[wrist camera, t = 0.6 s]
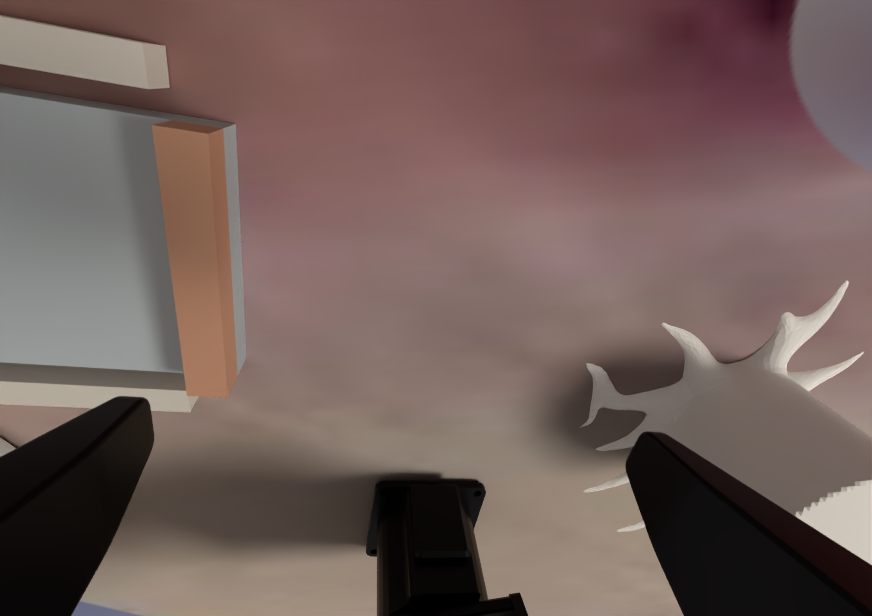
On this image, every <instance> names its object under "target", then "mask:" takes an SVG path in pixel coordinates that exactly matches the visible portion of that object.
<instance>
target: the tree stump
mask: <svg viewBox="0 0 872 616" xmlns="http://www.w3.org/2000/svg"><path fill="white" fill-rule="evenodd" d="M848 284H849V282H848V280H847V281H846V282H845V283H844V284H843V285H842V286H841V287H840V288H839V289H838V291H837V292H836V293H835V295H834V296H832V298H831V299H830V300H829V301H828V302H827V303H826V304H825V305H824V306H822V307H821V308H820V309H818V310H817V311H815V312H814V313H812V314H810V315H807V316H804V317H796V316H794V315H793V314H791V313H790V312H787V313H784V314H783V315H782V316H781V318H780V322H779V325H778V327H777V329H776V331H775V333H774V335H773V336H772V337H771V338H770V340H769V341H768V342H767V343H766V344H765V345H764V346H763V347H762V348H761V349H759V350H758V351H757V352H756V353H754V354H753V355H752V356H750V357H749V358H747V359H745V360H742V361H739V362H735V363H730V364H722V363H720V362H718V361H716V360H715V358H714V357H713V356H712V355H711V353H710V352H709V350H708V349H707V348H706V346H705V345H704V344H703V343H702V342H701V341H700V340H699V339H698V338H697V337H696V336H694V335H693V334H692V333H690V332H687V331H685V330H683V329H681V328H677V327H673V326H670V325H668V324H666V323H662V326H663V327H665V329H666V330H668V331H669V333H670V334H671V335H673V337H675V338H676V340H677V341H678V342H679V344H680V345H681V347H682V349H683V352H684V358H685V364H684V373H683V376H682V378H681V380H680V381H678V382H677V383H675V384H673V385H670V386H667V387H664V388H659V389H655V390H651V391H647V392H642V393H637V394H634V395H622V394H620V393H618V392H617V391H616V390H615V388H614V386H613V384H612V383H611V381H610V379H609V377H608V375H607V373H606V372H605V371H604V370H603V369H602V368H601V367H599V366H595V365H594V364H589V363H586V365H587V369H588V370H589V372H590V373H591V374H592V377H593V392H592V399H591V405H590V412H589V418H588V420H587V422H586V423H584V424H583V425H582V426H581V427H583V426H587V425H589V424H591V423H592V422H593V420H594V418H595V417H596V415H597V412H598V410H599V409H600V408H603V407H605V408H609V409H615V410H637V411H643V412H645V413H646V417H645V419H644V420H643V422H642V423H641V424H640V425H639V426H638V427H637V428H636V429H635V430H634V431H632V432H631V433H630V434H628V435H627V436H625V437H623V438H621V439H619V440H617V441H615V442H612V443H609V444H606V445H604V446H601V447H598V448H596V450H599V451H609V450H617V449H623V448H629V447H634V445H635V443H636V441H637V439H638V437H639V435H640V434H642V433H643V432H646V431H650V432H662V433H665V434H667V435H669V436H670V437H672V438H673V439H675V440H676V441H678V442H680V443H681V444H683V445H684V446H686V447H687V448H689V449H691V450H692V451H694V452H695V453H697V454H698V455H700V456H702V457H703V458H705V459H706V460H708V461H709V462H711V463H713V464H714V465H716V466H717V467H719V468H720V469H722V470H723V471H725V472H727V473H728V474H730V475H731V476H733V477H734V478H736V479H738V480H739V481H741V482H742V483H744V484H745V485H747V486H749V487H750V488H752V489H753V490H755V491H756V492H758V493H760V494H761V495H763V496H764V497H766V498H767V499H769V500H770V501H772V502H774V503H775V504H777V505H778V506H780V507H781V508H783V509H785V510H786V511H788V512H789V513H791V514H792V515H794V516H796V517H797V518H799V519H800V520H802V521H803V522H805V523H807V524H808V525H810V526H811V527H813V528H814V529H816V530H818V531H819V532H821V533H822V534H824V535H825V536H827V537H828V538H830V539H832V540H833V541H835V542H836V543H838V544H839V545H841V546H843V547H844V548H846V549H847V550H849V551H850V552H852V553H854V554H855V555H857V556H858V557H860V558H861V559H863V560H865V561H866V562H868V563H869V564H871V565H872V438H871V437H870V436H869V435H867V434H866V433H865V432H863V431H862V430H860V429H859V428H858V427H856V426H855V425H854V424H852V423H851V422H850V421H848V420H847V419H845V418H844V417H843V416H841V415H840V414H839V413H837V412H836V411H835V410H833V409H832V408H830V407H829V406H828V405H826V404H825V403H824V402H822V401H821V400H820V399H818V398H817V397H816V396H814V395H813V394H811V393H810V392H809V391H810V390H811V389H813V388H814V387H816V386H817V385H819V384H820V383H822V382H824V381H826V380H827V379H829V378H831V377H833V376H835V375H836V374H838V373H839V372H841V371H843V370H844V369H846V368H847V367H849V366H850V365H851V364H852V363H854V362H855V361H856V360H857V359H858V358H859V357H860V356H861V355H862V354H863V353H864V352H862V353H861V354H858V355H856V356H854V357H853V358H851V359H849V360H847V361H845V362H842V363H840V364H837V365H834V366H830V367H826V368H822V369H817V370H811V371H804V372H787V363H788V361H789V359H790V357H791V356H792V355H793V354H794V352H795V351H796V350H797V349H798V348H799V347H800V346H801V345H802V344H803V343H805V342H806V341H807V340H808V339H809V338H810V337H811V336H812V335H813V334H815V333H816V332H817V331H818V330H819V329H820V328H821V327H822V325H823V324H824V323H825V322H826V321H827V320H828V319H829V317H830V316H831V314H832V313H833V312H834V310H835V309H836V307H837V305H838V304H839V302H840V300H841V299H842V297H843V295H844V293H845V290H846V288H847V287H848ZM579 428H580V427H579ZM628 482H629V479H628V476H627V473H626V472H624V473H623V474H621V475H620V476H618V477H616V478H614V479H612V480H611V481H608V482H606V483H604V484H602V485H599V486H596V487H592V488H588V489H586V490H585V491H583V492H594V491H600V490H604V489H607V488H611V487H615V486H618V485H622V484H625V483H628ZM643 527H645V524H644V521H643V520H641V521H640V522H638V523H636V524H634V525H631V526H629V527H625V528H621V529H618V530H617V532H625V531H633V530H637V529H640V528H643Z"/></svg>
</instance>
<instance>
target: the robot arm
mask: <svg viewBox="0 0 872 616" xmlns="http://www.w3.org/2000/svg"><path fill="white" fill-rule="evenodd" d="M153 443H154V430H153V423H152V415H151V408H150V403H149V401H148V400H147V399H146V398H144V397H133V396H117V397H115V398H112V399H110V400H108V401H107V402H105V403H103V404H101V405H99V406H97V407H95V408H93V409H91V410H89V411H87V412H85V413H83V414H82V415H80V416H78V417H76V418H74V419H72V420H70V421H68V422H66V423H64V424H62V425H60V426H58V427H57V428H55V429H53V430H51V431H49V432H47V433H45V434H43V435H41V436H39V437H37V438H35V439H33V440H32V441H30V442H28V443H26V444H24V445H22V446H20V447H18V448H16V449H14V450H12V451H10V452H9V453H7V454H5V455H3V456H1V457H0V616H71V615H72V613H73V612H74V610H75V608H76V606H77V604H78V603H79V601H80V599H81V597H82V596H83V594H84V592H85V590H86V588H87V587H88V585H89V583H90V581H91V579H92V578H93V576H94V574H95V572H96V571H97V569H98V567H99V565H100V563H101V562H102V560H103V558H104V556H105V554H106V552H107V550H108V548H109V547H110V545H111V543H112V540H113V538H114V536H115V534H116V532H117V530H118V527H119V525H120V523H121V520H122V518H123V516H124V513H125V511H126V509H127V506H128V504H129V502H130V499H131V497H132V495H133V492H134V490H135V488H136V485H137V483H138V481H139V478H140V476H141V474H142V471H143V469H144V467H145V465H146V462H147V460H148V458H149V455H150V453H151V450H152V447H153ZM626 473H627V476H628V479H629V482H630V484H631V487H632V490H633V493H634V496H635V499H636V501H637V504H638V507H639V510H640V513H641V515H642V518H643V521H644V524H645V527H646V529H647V532H648V535H649V538H650V540H651V543H652V546H653V548H654V551H655V553H656V555H657V558H658V560H659V562H660V564H661V567H662V569H663V571H664V573H665V575H666V578H667V580H668V582H669V584H670V586H671V589H672V591H673V593H674V595H675V597H676V600H677V602H678V604H679V606H680V608H681V611H682V613H683V615H684V616H872V565H871V564H869V563H868V562H866V561H865V560H863V559H861V558H860V557H858V556H857V555H855V554H854V553H852V552H850V551H849V550H847V549H846V548H844V547H843V546H841V545H839V544H838V543H836V542H835V541H833V540H832V539H830V538H828V537H827V536H825V535H824V534H822V533H821V532H819V531H818V530H816V529H814V528H813V527H811V526H810V525H808V524H807V523H805V522H803V521H802V520H800V519H799V518H797V517H796V516H794V515H792V514H791V513H789V512H788V511H786V510H785V509H783V508H781V507H780V506H778V505H777V504H775V503H774V502H772V501H770V500H769V499H767V498H766V497H764V496H763V495H761V494H760V493H758V492H756V491H755V490H753V489H752V488H750V487H749V486H747V485H745V484H744V483H742V482H741V481H739V480H738V479H736V478H734V477H733V476H731V475H730V474H728V473H727V472H725V471H723V470H722V469H720V468H719V467H717V466H716V465H714V464H713V463H711V462H709V461H708V460H706V459H705V458H703V457H702V456H700V455H698V454H697V453H695V452H694V451H692V450H691V449H689V448H687V447H686V446H684V445H683V444H681V443H680V442H678V441H676V440H675V439H673V438H672V437H670V436H669V435H667V434H665V433H662V432H650V431H646V432H643V433H642V434H640V435H639V437H638V439H637V441H636V443H635V445H634V447H633V448H632V450H631V452H630V454H629V456H628V458H627V460H626ZM485 494H486V491H485V487H484V485H483V484H482V483H479V482H427V481H381V482H379V483H377V484H376V486H375V492H374V499H373V505H372V512H371V518H370V525H369V531H368V538H367V544H366V554H367V555H369V556H373V557H374V556H377V616H528V614H527V611H526V608H525V606H524V603H523V600H522V597H521V595H520V593H513V594H509V596H508V597H502V598H496V599H489V600H488V597H487V592H486V587H485V582H484V577H483V573H482V568H481V563H480V558H479V554H478V549H477V544H476V539H475V535H474V527H475V524H476V521H477V518H478V515H479V512H480V509H481V506H482V503H483V500H484V497H485Z"/></svg>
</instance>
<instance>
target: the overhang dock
mask: <svg viewBox="0 0 872 616" xmlns="http://www.w3.org/2000/svg"><path fill="white" fill-rule="evenodd" d="M0 64H4V65H9V66H15V67H21V68H27V69H33V70H39V71H45V72H50V73H56V74H62V75H68V76H74V77H80V78H86V79H91V80H97V81H103V82H109V83H115V84H121V85H127V86H132V87H138V88H144V89H159V88H170V86H169V76H168V67H167V58H166V48H165V46H163V45H158V44H153V43H148V42H142V41H137V40H132V39H126V38H121V37H116V36H111V35H105V34H100V33H95V32H89V31H84V30H79V29H74V28H68V27H63V26H58V25H52V24H47V23H42V22H37V21H31V20H26V19H21V18H15V17H10V16H5V15H0ZM117 396H133V397H144V398H146V399H147V400H148V401H149V403H150V408H151V411H170V412H190V411H191V409H192V408H193V406H194V404H195V402H196V400H197V399H198V397H199V396H187V393H186V385H185V377H184V373H174V372H157V371H140V370H123V369H106V368H89V367H72V366H55V365H38V364H21V363H4V362H0V404H8V405H31V406H55V407H78V408H95V407H97V406H99V405H101V404H103V403H105V402H107V401H108V400H110V399H112V398H115V397H117Z"/></svg>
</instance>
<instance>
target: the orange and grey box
mask: <svg viewBox="0 0 872 616" xmlns="http://www.w3.org/2000/svg"><path fill="white" fill-rule="evenodd" d="M245 359H246V345H245V322H244V300H243V277H242V255H241V232H240V210H239V188H238V165H237V143H236V124H233V123H227V122H221V121H214V120H208V119H202V118H196V117H190V116H184V115H177V114H171V113H165V112H159V111H153V110H147V109H141V108H134V107H128V106H122V105H116V104H110V103H104V102H97V101H91V100H85V99H79V98H73V97H67V96H61V95H54V94H48V93H42V92H36V91H30V90H24V89H17V88H11V87H5V86H0V362H4V363H21V364H38V365H55V366H72V367H89V368H106V369H123V370H140V371H157V372H174V373H184V377H185V385H186V393H187V396H199V397H219V398H228V396H229V394H230V391H231V389H232V387H233V385H234V383H235V381H236V379H237V376H238V374H239V372H240V370H241V368H242V366H243V363H244V361H245Z"/></svg>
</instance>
